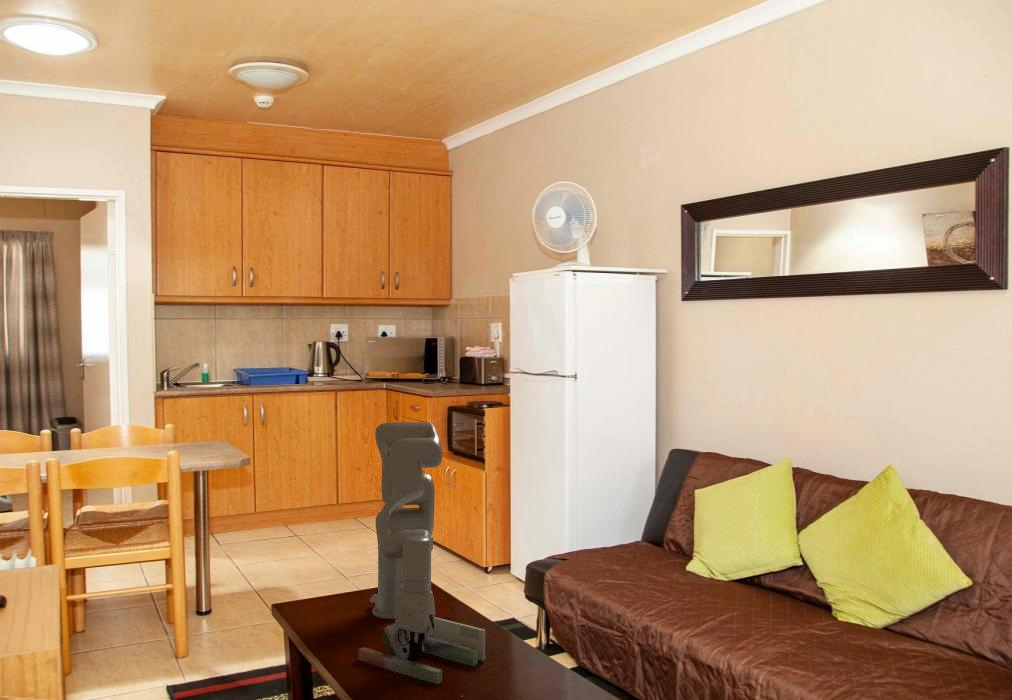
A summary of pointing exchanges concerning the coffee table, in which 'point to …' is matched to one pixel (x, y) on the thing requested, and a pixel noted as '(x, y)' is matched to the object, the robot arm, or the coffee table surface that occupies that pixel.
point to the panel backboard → (461, 635)
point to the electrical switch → (396, 641)
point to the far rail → (451, 650)
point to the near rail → (400, 665)
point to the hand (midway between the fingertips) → (415, 656)
